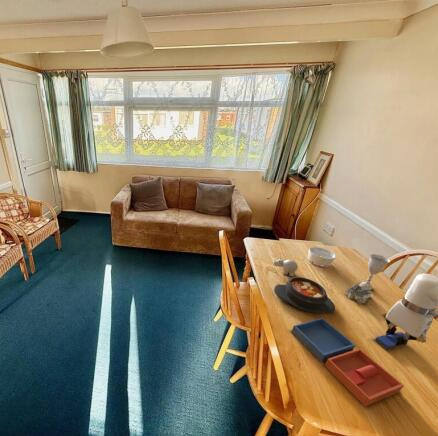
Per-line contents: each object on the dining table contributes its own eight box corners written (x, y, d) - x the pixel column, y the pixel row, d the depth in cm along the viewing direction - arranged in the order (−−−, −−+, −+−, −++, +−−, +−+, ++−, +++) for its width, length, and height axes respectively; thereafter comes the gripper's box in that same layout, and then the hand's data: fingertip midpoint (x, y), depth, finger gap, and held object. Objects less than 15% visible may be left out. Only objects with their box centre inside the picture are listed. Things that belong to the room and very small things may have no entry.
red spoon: (365, 367, 81) (368, 361, 79) (378, 378, 77) (382, 372, 76) (341, 375, 78) (344, 370, 77) (354, 387, 74) (357, 382, 73)
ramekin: (309, 253, 148) (312, 244, 146) (334, 262, 140) (338, 252, 137) (303, 261, 140) (306, 252, 137) (328, 271, 131) (333, 261, 129)
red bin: (399, 392, 74) (404, 385, 72) (365, 406, 70) (369, 399, 69) (355, 354, 85) (359, 348, 84) (324, 365, 82) (327, 358, 80)
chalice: (359, 289, 118) (374, 260, 111) (354, 281, 124) (367, 253, 116) (377, 292, 116) (393, 263, 108) (371, 284, 121) (385, 256, 114)
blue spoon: (394, 334, 94) (397, 328, 92) (406, 342, 90) (410, 337, 89) (374, 340, 91) (377, 335, 90) (386, 349, 87) (390, 344, 86)
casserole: (274, 305, 107) (279, 292, 104) (272, 281, 123) (276, 269, 119) (339, 323, 98) (346, 309, 95) (327, 295, 114) (333, 282, 110)
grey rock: (362, 305, 108) (365, 299, 106) (343, 295, 114) (346, 289, 112) (371, 297, 113) (374, 290, 111) (353, 288, 119) (356, 282, 117)
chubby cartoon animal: (273, 264, 137) (276, 252, 134) (296, 272, 130) (300, 260, 127) (270, 270, 132) (273, 258, 129) (293, 278, 125) (298, 266, 122)
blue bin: (352, 351, 87) (355, 345, 85) (321, 361, 83) (324, 355, 81) (319, 323, 98) (322, 317, 97) (291, 331, 94) (293, 325, 93)
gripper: (455, 320, 77) (428, 356, 85) (396, 288, 91) (377, 321, 99) (441, 325, 75) (414, 361, 83) (383, 292, 90) (364, 325, 97)
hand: (394, 339), depth 91 cm, fingers closed on blue spoon, 3 cm apart
